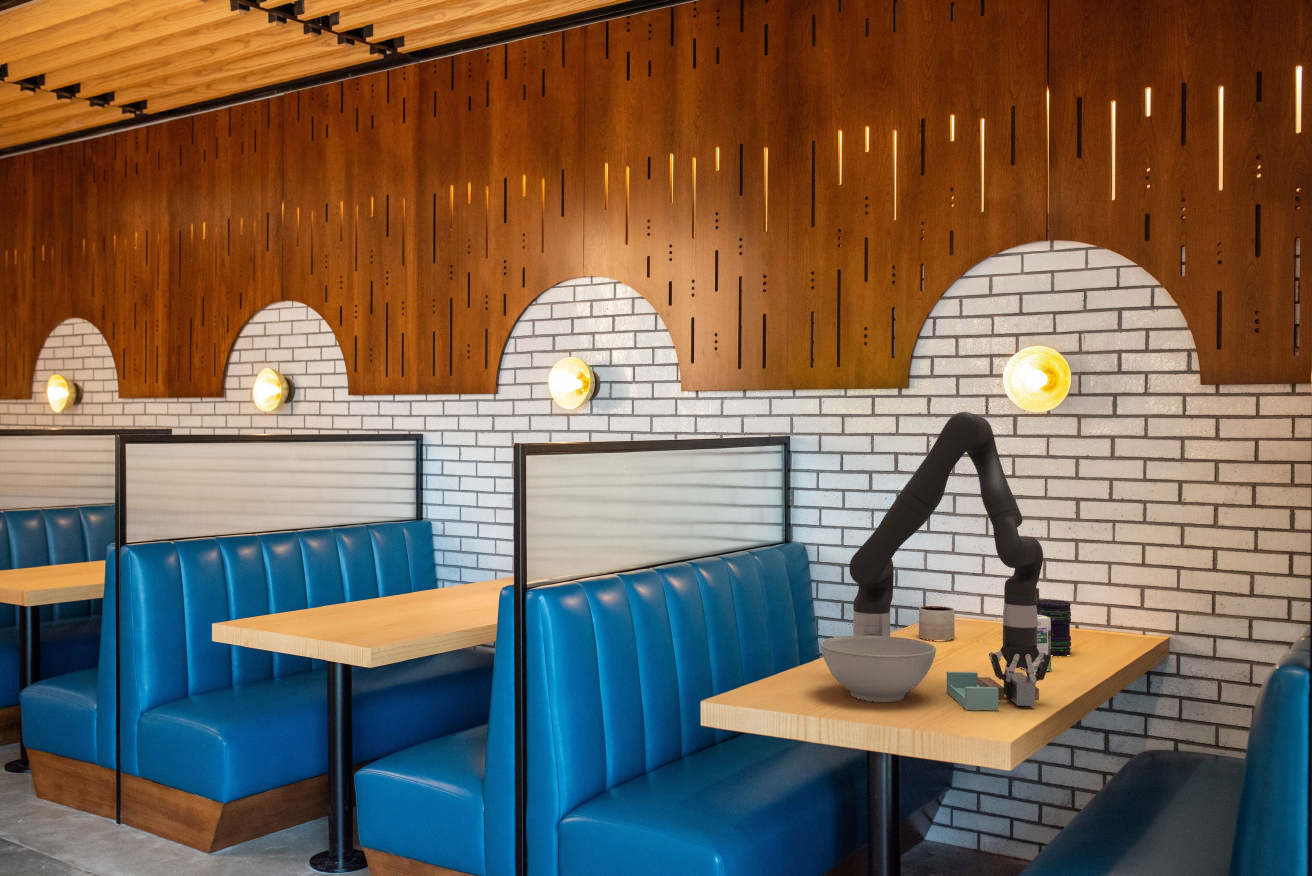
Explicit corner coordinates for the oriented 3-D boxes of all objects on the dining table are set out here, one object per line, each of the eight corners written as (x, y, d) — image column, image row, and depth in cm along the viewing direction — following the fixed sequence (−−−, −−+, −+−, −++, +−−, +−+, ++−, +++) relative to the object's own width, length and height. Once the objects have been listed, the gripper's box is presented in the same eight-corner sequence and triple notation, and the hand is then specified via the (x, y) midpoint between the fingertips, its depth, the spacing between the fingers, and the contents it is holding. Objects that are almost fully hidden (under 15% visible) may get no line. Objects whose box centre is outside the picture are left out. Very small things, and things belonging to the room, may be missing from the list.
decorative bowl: (957, 697, 243) (957, 645, 244) (894, 716, 225) (894, 660, 225) (862, 679, 263) (862, 631, 263) (797, 695, 244) (797, 644, 244)
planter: (917, 640, 319) (917, 609, 319) (919, 635, 329) (919, 605, 329) (954, 642, 316) (954, 611, 316) (954, 637, 326) (954, 606, 326)
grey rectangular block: (1016, 705, 232) (1017, 683, 232) (1004, 693, 244) (1004, 671, 244) (1035, 706, 232) (1035, 683, 232) (1021, 693, 244) (1021, 672, 244)
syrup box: (1033, 673, 271) (1032, 617, 272) (1019, 668, 277) (1019, 614, 277) (1051, 671, 273) (1051, 617, 273) (1037, 667, 279) (1037, 613, 279)
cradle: (966, 710, 230) (966, 688, 230) (946, 692, 248) (946, 671, 248) (998, 711, 230) (998, 688, 230) (975, 692, 248) (975, 671, 248)
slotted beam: (991, 698, 242) (991, 688, 242) (977, 687, 254) (977, 677, 254) (1038, 699, 241) (1038, 688, 241) (1022, 687, 253) (1022, 677, 253)
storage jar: (1036, 656, 295) (1036, 603, 295) (1032, 650, 305) (1032, 599, 305) (1073, 657, 293) (1073, 605, 293) (1068, 651, 302) (1068, 600, 303)
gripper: (1045, 621, 241) (1044, 694, 241) (984, 620, 242) (983, 693, 242) (1056, 626, 234) (1056, 702, 234) (993, 625, 234) (992, 701, 234)
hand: (1019, 697), depth 238 cm, fingers closed on grey rectangular block, 4 cm apart
